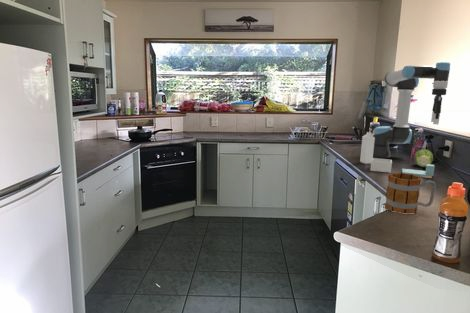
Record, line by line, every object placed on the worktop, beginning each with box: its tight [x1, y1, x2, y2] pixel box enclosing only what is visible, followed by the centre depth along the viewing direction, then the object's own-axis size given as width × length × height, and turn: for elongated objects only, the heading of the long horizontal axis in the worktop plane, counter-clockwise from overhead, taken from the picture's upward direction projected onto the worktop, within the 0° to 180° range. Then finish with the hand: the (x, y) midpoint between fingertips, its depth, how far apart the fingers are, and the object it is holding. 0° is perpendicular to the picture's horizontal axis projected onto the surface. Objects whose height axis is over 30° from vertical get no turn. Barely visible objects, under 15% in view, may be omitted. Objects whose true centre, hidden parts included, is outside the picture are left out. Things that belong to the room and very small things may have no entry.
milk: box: [359, 131, 375, 164], centre depth 242 cm, size 6×6×22 cm
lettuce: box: [413, 148, 434, 168], centre depth 237 cm, size 12×21×11 cm, turn 152°
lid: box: [401, 164, 435, 177], centre depth 215 cm, size 11×17×6 cm, turn 66°
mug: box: [384, 172, 437, 214], centre depth 151 cm, size 20×14×15 cm
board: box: [416, 175, 433, 179], centre depth 216 cm, size 11×15×1 cm
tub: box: [369, 157, 393, 174], centre depth 223 cm, size 10×12×7 cm
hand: (434, 123), depth 216 cm, fingers open, 13 cm apart
